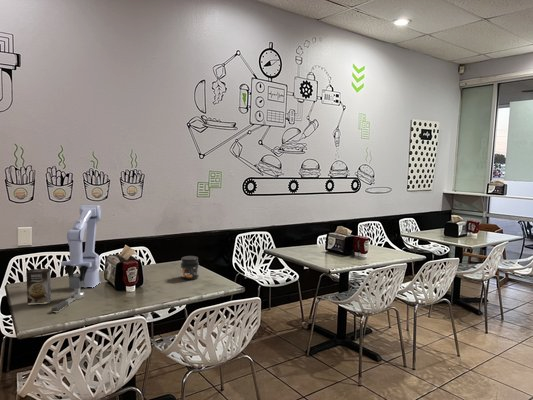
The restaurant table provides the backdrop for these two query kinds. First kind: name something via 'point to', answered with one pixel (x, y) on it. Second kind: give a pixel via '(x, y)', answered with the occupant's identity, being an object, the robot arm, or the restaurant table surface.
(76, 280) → the brushed metal cube
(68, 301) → the ratchet
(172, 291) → the restaurant table surface
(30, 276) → the cookie box
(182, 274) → the supplement container
